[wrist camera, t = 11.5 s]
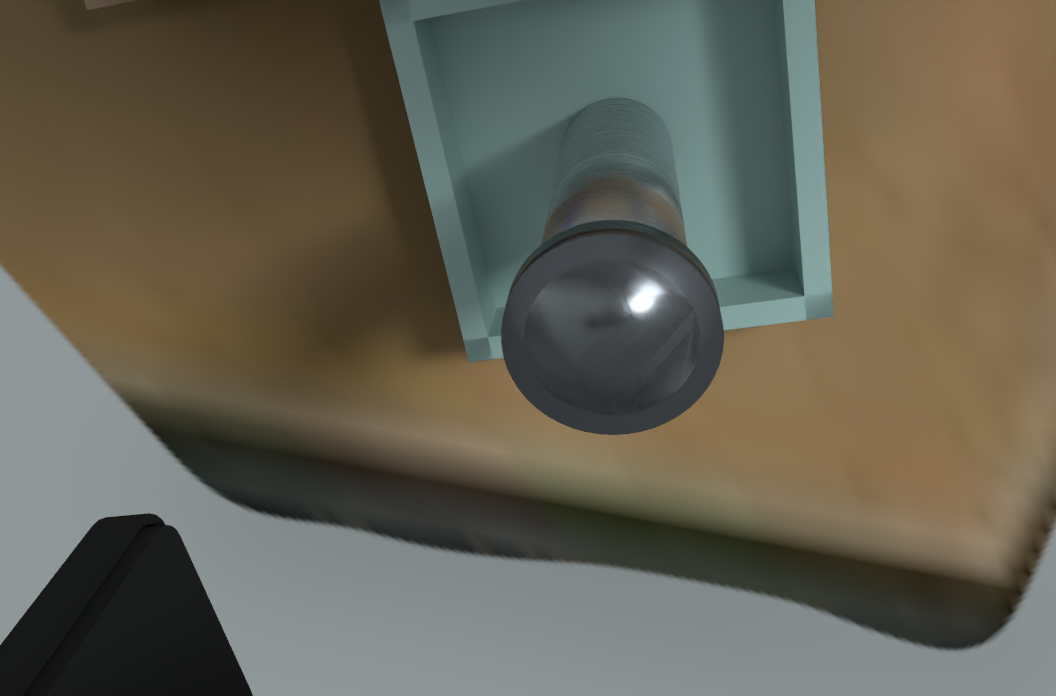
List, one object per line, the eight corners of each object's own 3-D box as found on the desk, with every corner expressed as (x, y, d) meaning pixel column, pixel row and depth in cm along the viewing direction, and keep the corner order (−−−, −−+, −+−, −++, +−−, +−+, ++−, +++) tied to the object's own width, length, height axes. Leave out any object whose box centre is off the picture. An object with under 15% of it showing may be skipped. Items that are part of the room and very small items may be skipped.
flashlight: (678, 70, 25) (711, 221, 16) (695, 208, 27) (734, 422, 17) (534, 95, 26) (480, 255, 16) (559, 229, 28) (523, 445, 18)
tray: (793, -96, 24) (809, -89, 22) (818, 278, 28) (833, 316, 26) (400, -18, 26) (377, -4, 23) (481, 323, 30) (468, 362, 28)
